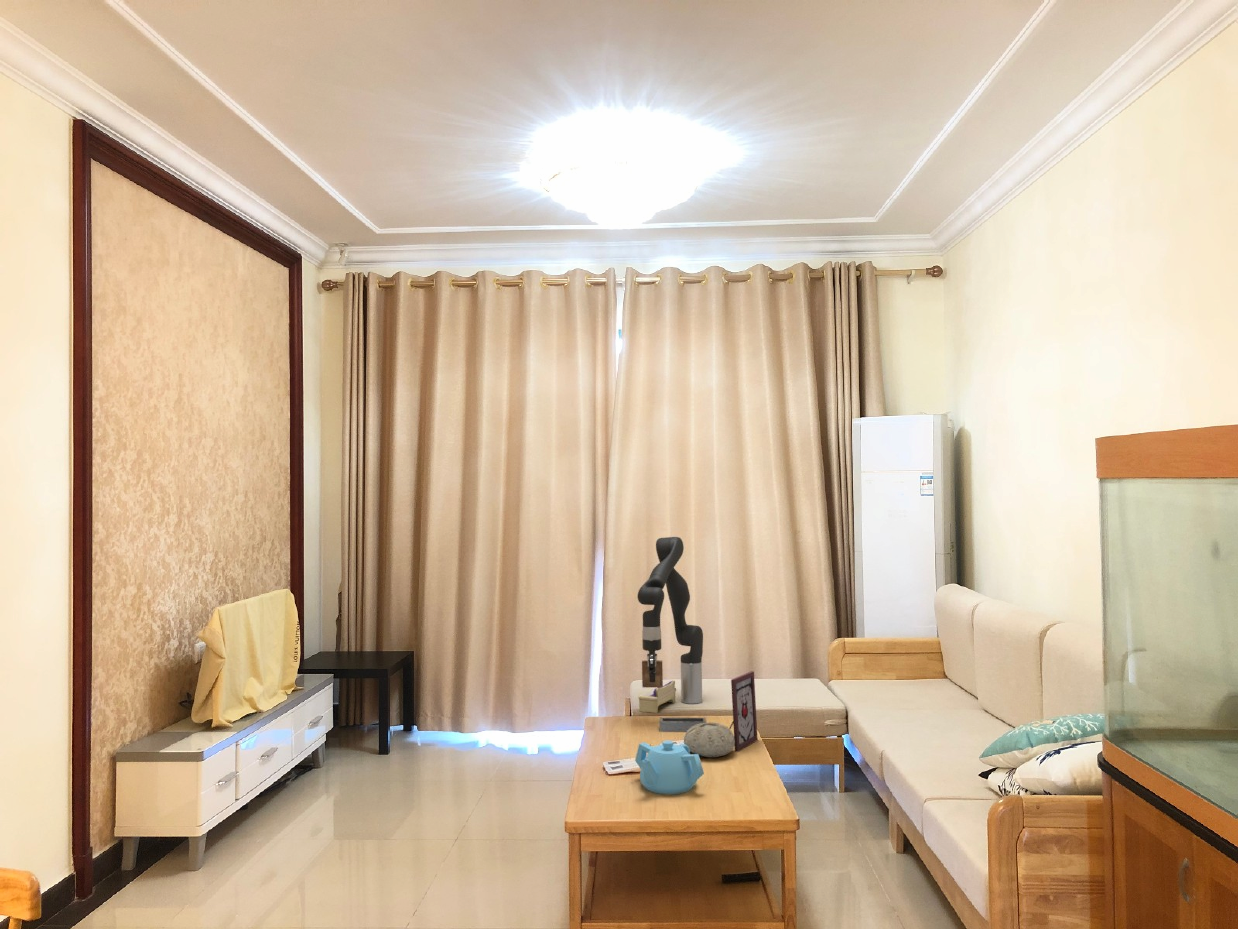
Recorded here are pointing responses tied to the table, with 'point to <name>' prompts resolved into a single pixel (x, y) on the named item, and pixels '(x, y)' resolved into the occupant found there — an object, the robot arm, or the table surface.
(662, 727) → the tray
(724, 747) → the decorative shell
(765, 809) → the table surface
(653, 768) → the teapot
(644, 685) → the door panel
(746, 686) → the picture frame
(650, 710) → the toy sofa
